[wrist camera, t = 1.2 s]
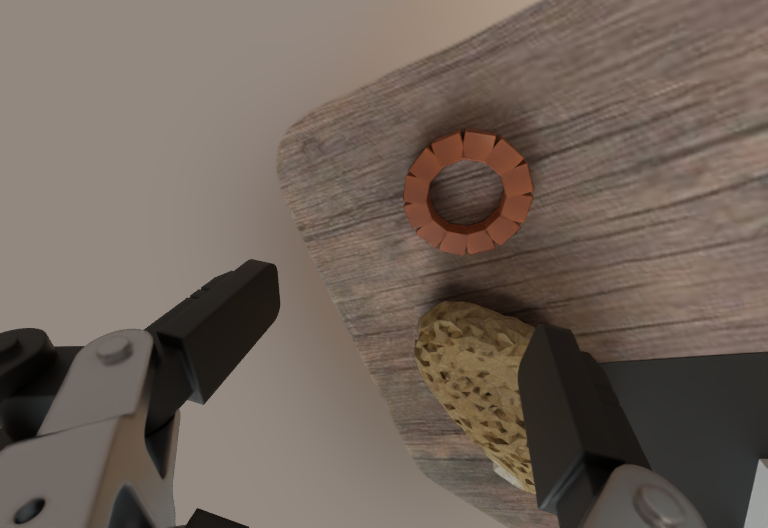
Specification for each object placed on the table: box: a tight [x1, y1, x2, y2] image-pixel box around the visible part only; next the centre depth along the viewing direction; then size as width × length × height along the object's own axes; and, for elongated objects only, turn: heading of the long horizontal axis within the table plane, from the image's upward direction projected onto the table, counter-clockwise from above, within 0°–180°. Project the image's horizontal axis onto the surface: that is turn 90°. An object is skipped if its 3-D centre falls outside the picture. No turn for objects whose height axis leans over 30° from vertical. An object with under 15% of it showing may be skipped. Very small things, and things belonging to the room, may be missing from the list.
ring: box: [403, 128, 534, 255], centre depth 21 cm, size 8×8×2 cm
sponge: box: [414, 301, 536, 495], centre depth 25 cm, size 13×8×20 cm
